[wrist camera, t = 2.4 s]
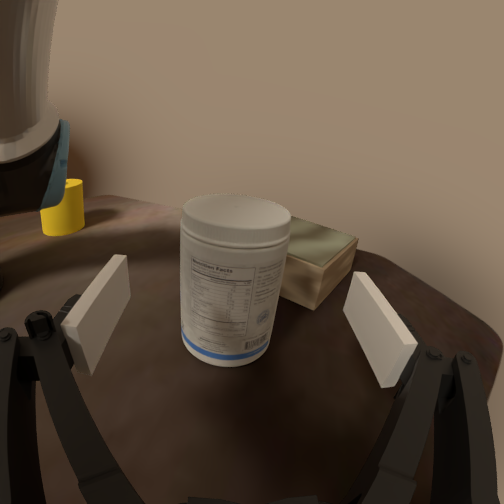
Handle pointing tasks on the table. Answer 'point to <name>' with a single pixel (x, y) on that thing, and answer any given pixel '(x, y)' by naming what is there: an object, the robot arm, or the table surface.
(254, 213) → the supplement tub
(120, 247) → the table surface
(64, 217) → the yellow hollow cylinder
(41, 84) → the robot arm
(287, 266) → the birch riser
